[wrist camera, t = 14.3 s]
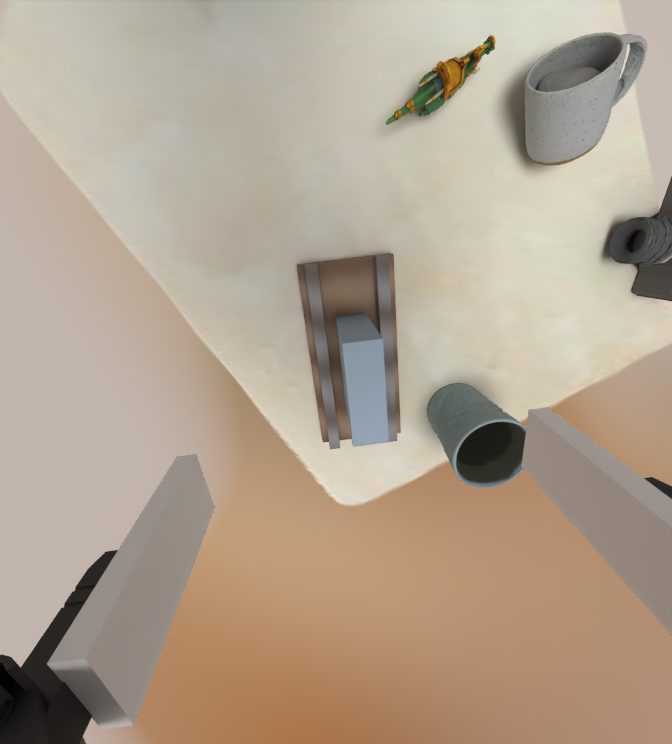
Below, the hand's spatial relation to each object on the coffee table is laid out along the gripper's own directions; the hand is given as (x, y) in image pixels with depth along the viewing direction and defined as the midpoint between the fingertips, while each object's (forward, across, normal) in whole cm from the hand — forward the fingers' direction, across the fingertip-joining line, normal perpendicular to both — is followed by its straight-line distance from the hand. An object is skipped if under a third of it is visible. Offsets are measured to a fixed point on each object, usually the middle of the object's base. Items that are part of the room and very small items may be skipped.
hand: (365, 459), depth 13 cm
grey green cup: (+33, +17, -19) cm, 42 cm away
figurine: (+34, +13, +20) cm, 41 cm away
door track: (+33, +2, -8) cm, 34 cm away
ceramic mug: (+34, +28, +18) cm, 47 cm away
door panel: (+31, +2, -8) cm, 32 cm away
